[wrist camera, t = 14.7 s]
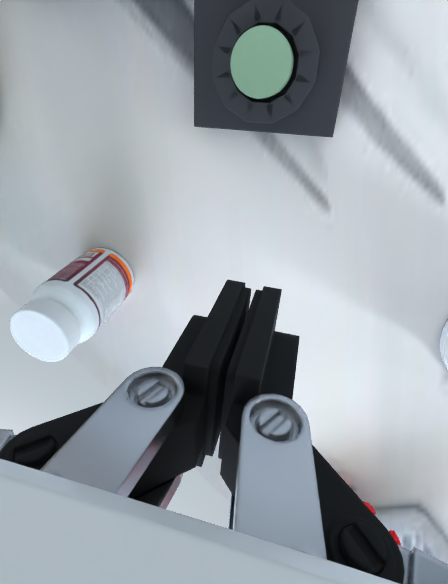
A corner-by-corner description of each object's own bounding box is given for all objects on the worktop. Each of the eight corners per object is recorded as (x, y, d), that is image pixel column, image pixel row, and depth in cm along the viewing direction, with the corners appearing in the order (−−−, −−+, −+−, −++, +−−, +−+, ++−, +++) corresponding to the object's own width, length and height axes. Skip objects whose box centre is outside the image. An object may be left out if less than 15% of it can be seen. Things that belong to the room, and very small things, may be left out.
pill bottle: (78, 282, 39) (1, 347, 30) (86, 235, 36) (3, 291, 26) (128, 306, 39) (68, 378, 30) (142, 262, 36) (79, 326, 26)
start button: (297, 30, 21) (296, 25, 20) (289, 99, 23) (287, 100, 21) (237, 28, 22) (231, 24, 20) (234, 95, 23) (228, 96, 22)
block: (357, -5, 22) (364, -21, 19) (331, 133, 26) (333, 140, 23) (203, -7, 24) (185, -21, 21) (202, 123, 28) (186, 129, 25)
